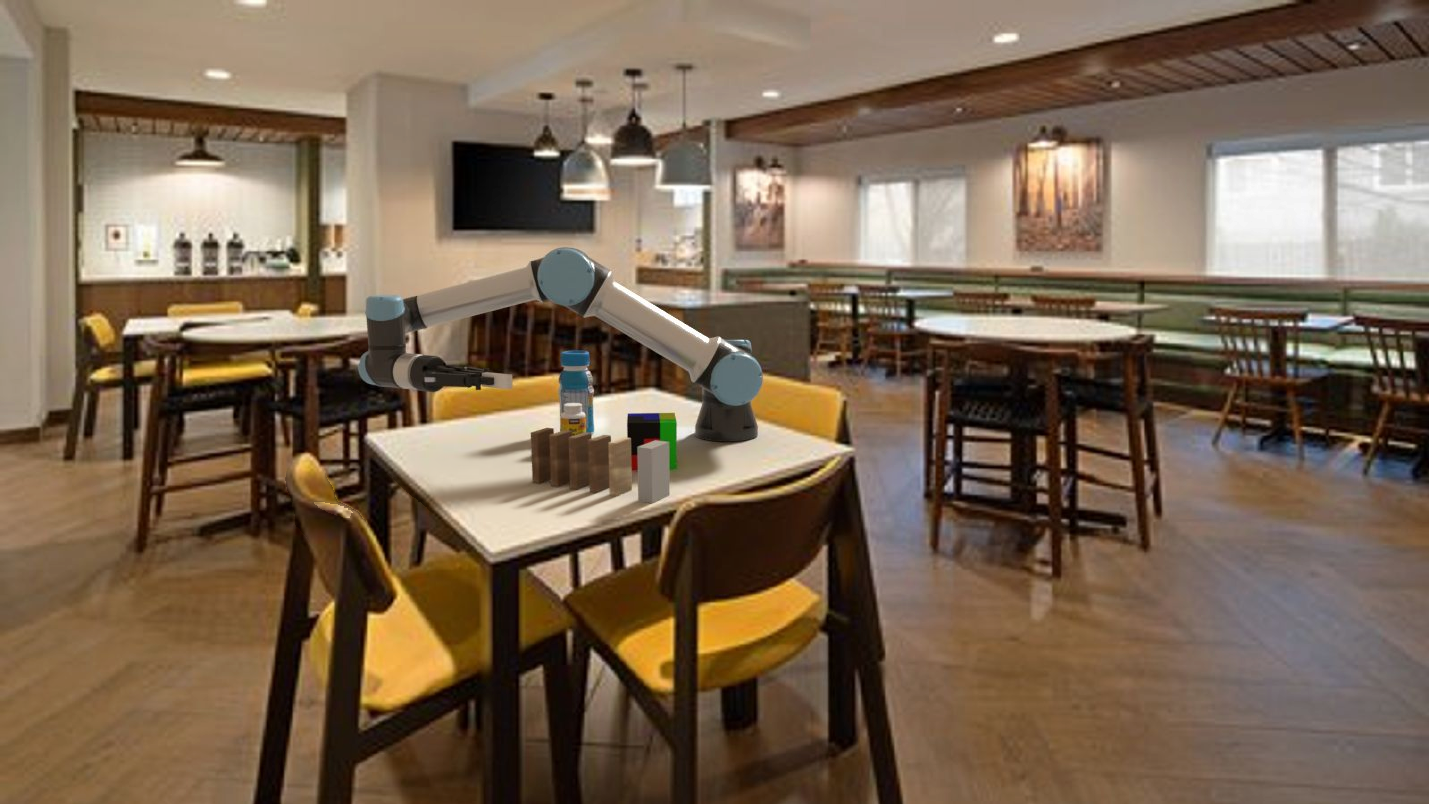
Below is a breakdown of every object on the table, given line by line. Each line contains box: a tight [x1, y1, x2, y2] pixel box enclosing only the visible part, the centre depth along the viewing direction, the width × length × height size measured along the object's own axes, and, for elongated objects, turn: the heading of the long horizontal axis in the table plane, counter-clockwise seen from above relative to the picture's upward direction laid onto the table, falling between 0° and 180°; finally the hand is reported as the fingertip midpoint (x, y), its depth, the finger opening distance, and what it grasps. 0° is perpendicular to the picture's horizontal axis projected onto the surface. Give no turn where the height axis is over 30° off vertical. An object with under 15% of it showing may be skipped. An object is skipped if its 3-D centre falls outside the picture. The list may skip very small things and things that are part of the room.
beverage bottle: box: [557, 350, 595, 436], centre depth 210 cm, size 8×8×20 cm
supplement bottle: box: [561, 403, 586, 436], centre depth 197 cm, size 6×6×10 cm
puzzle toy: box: [626, 412, 678, 472], centre depth 184 cm, size 10×10×10 cm
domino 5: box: [608, 436, 633, 497], centre depth 163 cm, size 2×5×10 cm, turn 152°
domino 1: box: [530, 427, 555, 485], centre depth 171 cm, size 2×5×10 cm, turn 152°
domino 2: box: [549, 430, 572, 488], centre depth 169 cm, size 2×5×10 cm, turn 152°
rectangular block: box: [637, 440, 671, 504], centre depth 159 cm, size 3×6×10 cm, turn 152°
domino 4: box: [588, 434, 612, 494], centre depth 165 cm, size 2×5×10 cm, turn 152°
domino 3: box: [569, 432, 593, 491], centre depth 167 cm, size 2×5×10 cm, turn 152°
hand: (509, 381), depth 172 cm, fingers closed
